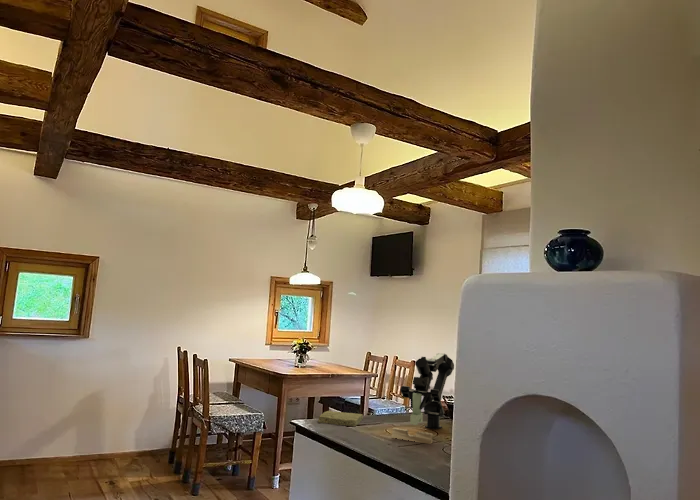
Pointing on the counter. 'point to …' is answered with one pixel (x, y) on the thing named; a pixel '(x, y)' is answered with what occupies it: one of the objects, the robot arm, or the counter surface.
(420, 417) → the green joystick knob
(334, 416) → the decorative tile
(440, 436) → the counter surface
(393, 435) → the birch slotted plate
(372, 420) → the counter surface
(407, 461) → the counter surface
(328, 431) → the counter surface
